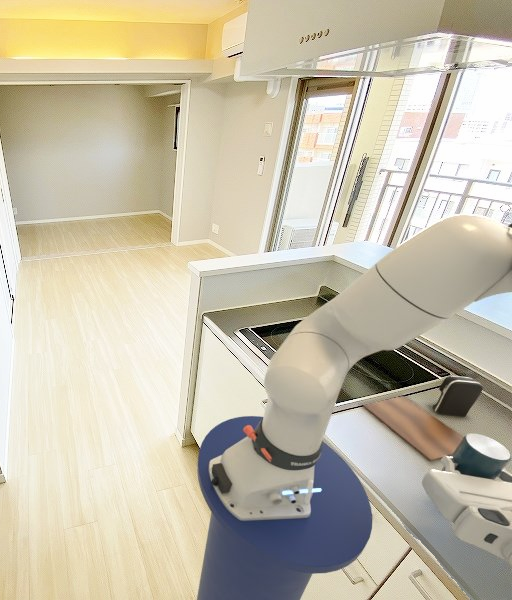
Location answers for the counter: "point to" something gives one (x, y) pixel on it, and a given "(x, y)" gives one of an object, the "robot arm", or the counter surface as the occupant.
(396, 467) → the counter surface
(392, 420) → the wooden board
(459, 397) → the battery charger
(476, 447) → the can
